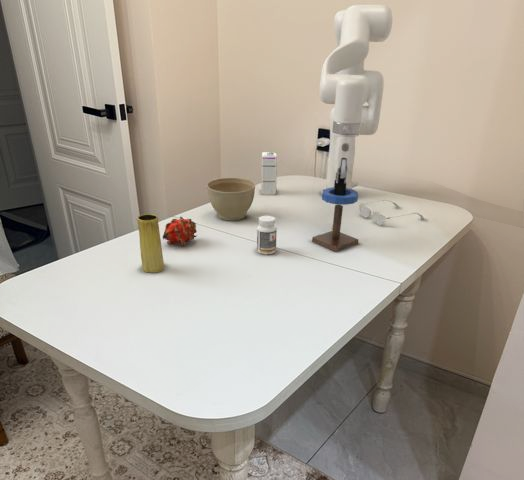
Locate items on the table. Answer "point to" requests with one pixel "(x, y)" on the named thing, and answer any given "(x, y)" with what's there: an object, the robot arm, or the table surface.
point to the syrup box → (269, 173)
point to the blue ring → (329, 196)
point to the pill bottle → (266, 235)
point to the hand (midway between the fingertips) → (339, 194)
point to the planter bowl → (231, 197)
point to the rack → (335, 234)
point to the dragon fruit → (179, 231)
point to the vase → (150, 243)
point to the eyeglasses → (378, 216)
